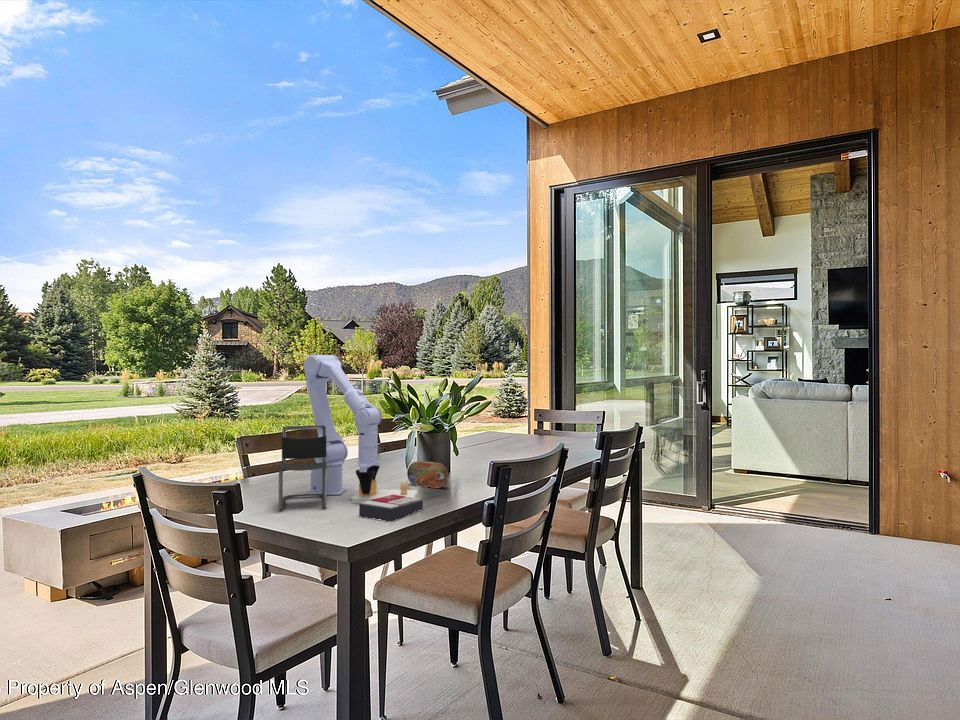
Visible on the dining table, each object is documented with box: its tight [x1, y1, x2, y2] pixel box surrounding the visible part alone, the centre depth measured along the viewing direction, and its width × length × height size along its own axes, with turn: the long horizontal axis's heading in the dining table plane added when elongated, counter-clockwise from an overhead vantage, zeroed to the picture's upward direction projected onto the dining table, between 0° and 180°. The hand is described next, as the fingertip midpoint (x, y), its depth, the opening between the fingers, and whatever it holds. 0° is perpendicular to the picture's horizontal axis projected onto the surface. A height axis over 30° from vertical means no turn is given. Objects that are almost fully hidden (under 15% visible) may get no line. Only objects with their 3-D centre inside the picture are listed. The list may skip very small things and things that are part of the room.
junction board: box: [351, 481, 419, 504], centre depth 183 cm, size 18×12×5 cm, turn 89°
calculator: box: [358, 495, 424, 522], centre depth 167 cm, size 11×4×15 cm
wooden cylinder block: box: [358, 479, 378, 496], centre depth 183 cm, size 5×5×4 cm
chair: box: [278, 425, 327, 511], centre depth 177 cm, size 13×17×22 cm
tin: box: [406, 460, 449, 489], centre depth 201 cm, size 15×3×8 cm, turn 62°
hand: (367, 491), depth 183 cm, fingers closed on wooden cylinder block, 5 cm apart
